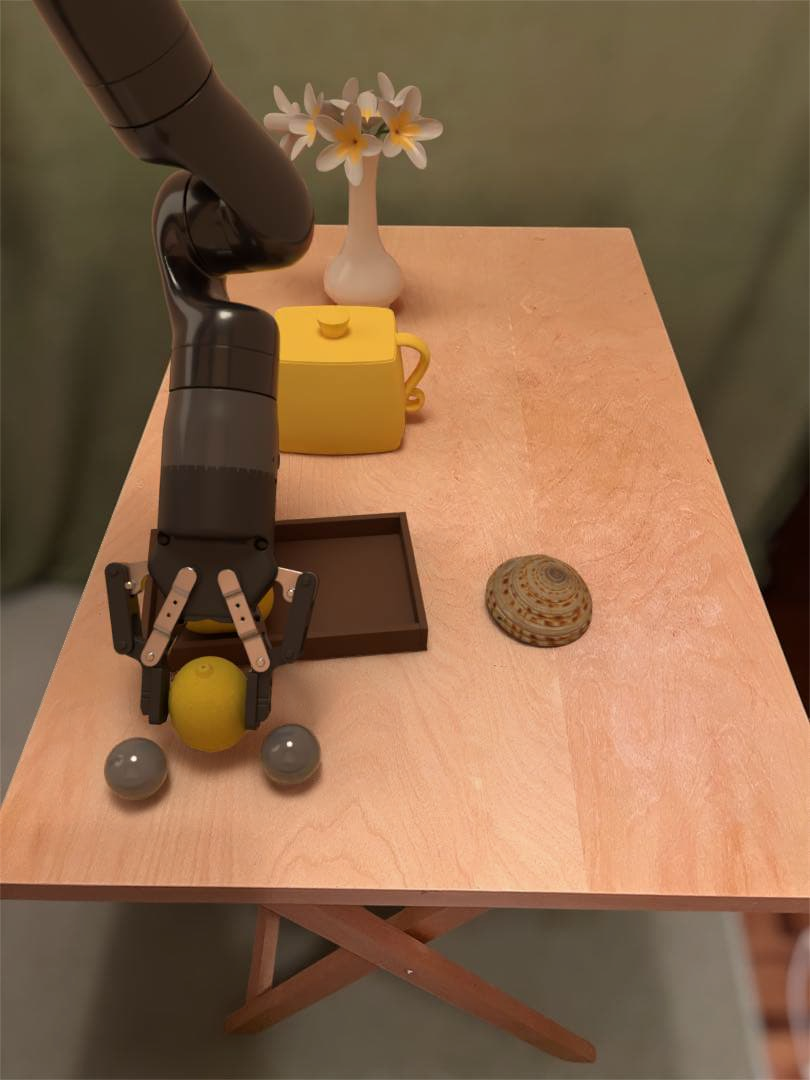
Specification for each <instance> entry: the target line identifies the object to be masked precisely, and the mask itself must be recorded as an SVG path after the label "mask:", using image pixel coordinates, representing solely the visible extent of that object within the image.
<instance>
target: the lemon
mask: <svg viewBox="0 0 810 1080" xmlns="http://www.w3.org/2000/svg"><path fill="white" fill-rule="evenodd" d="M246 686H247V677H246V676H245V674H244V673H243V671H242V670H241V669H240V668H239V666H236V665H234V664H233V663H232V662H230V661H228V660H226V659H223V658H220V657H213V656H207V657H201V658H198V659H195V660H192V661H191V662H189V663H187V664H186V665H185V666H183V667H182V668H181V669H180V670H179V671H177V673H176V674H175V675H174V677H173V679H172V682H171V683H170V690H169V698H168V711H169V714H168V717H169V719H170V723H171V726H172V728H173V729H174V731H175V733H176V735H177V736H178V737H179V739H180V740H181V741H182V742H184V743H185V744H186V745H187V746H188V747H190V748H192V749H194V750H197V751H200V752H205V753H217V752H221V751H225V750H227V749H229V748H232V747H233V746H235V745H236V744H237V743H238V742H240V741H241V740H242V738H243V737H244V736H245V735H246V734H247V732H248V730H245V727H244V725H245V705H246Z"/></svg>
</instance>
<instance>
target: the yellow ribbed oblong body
mask: <svg viewBox="0 0 810 1080" xmlns="http://www.w3.org/2000/svg"><path fill="white" fill-rule="evenodd" d="M273 601H274V593H273V587H272V588H271V589H270V590H269V591H268V593H267V594H266V595H265V596H264V598H263V599H262V600H261V601H260V603H259V604H258V606H259V609H260V612H261V615H262V617H263V620H265V619H266V618H267V616H268V615H269V613H270V611H271V609H272V606H273ZM186 628H187V629H189V630H191V631H193V632H196V633H201V634H215V633H228V632H237V629H236V627H235V624H234V623H219V622H216V621H213V620H210V619H206V620H201V621H196V622H193V621H188V623H187V625H186Z"/></svg>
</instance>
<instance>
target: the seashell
mask: <svg viewBox="0 0 810 1080" xmlns="http://www.w3.org/2000/svg"><path fill="white" fill-rule="evenodd" d="M485 598H486V603H487V605H488V606H487V607H488V608H489V611H490V613H491V614H492V616H493V618H494V619H495V620H496V622H497V623H498V624H499V625H500V626H501V627H502V628H503V629H504V630H505V631H506V632H508V634H511V635H512V636H514V637H516V638H517V639H519V640H520V641H523V642H525V643H527V644H531V645H535V646H539V647H559V646H562V645H566V644H569V643H571V642H573V641H576V640H577V639H578V638H580V637H581V636H582V635H583V634H584V633H585V632H586V630H587V629H588V627H589V626H590V623H591V621H592V615H593V599H592V594H591V592H590V589H589V587H588V584H587V582H586V581H585V580H584V578H583V577H582V575H581V574H580V573H579V572H578V571H577V570H576V569H575V568H574V567H573V566H571V565H570V564H569V563H568V562H565V561H563V560H561V559H558V558H555V557H553V556H550V555H547V554H540V553H539V554H529V555H523V556H517V557H511V558H509V559H507V560H505V561H504V562H502V563H501V564H499V565H498V566H496V568H495V569H494V570H493V572H492V573H491V574H490V576H489V577H488V580H487V582H486V587H485Z"/></svg>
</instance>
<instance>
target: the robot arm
mask: <svg viewBox="0 0 810 1080" xmlns="http://www.w3.org/2000/svg"><path fill="white" fill-rule="evenodd" d="M30 2H31V3H32V5H33V7H34V9H35V10H36V12H37V13H38V15H39V17H40V18H41V20H42V22H43V23H44V25H45V27H46V28H47V30H48V32H49V33H50V35H51V37H52V38H53V40H54V42H55V43H56V45H57V47H58V48H59V50H60V51H61V53H62V55H63V57H65V59H66V61H67V62H68V64H69V66H70V67H71V69H72V70H73V72H74V74H75V76H77V78H78V79H79V81H80V83H81V84H82V86H83V87H84V89H85V90H86V93H88V95H89V96H90V98H91V99H92V101H93V103H94V104H95V105H96V107H97V109H98V110H99V112H100V114H101V115H102V117H103V118H104V120H105V121H106V123H108V126H109V127H110V129H111V130H112V132H113V133H114V135H115V136H116V138H117V139H118V140H119V142H120V143H121V144H122V146H123V147H124V148H125V149H126V151H127V152H128V153H129V154H130V155H132V156H133V157H134V158H136V159H138V160H140V161H141V162H143V163H146V164H151V165H156V166H164V167H171V168H176V169H180V170H177V171H175V172H173V173H172V174H170V175H169V176H168V177H167V178H166V179H165V181H163V183H162V185H161V186H160V188H159V190H158V191H157V194H156V196H155V199H154V203H153V207H152V212H151V213H152V214H151V234H152V240H153V245H154V249H155V255H156V258H157V259H156V260H157V263H158V269H159V272H160V277H161V282H162V288H163V293H164V298H165V303H166V307H167V312H168V317H169V321H170V327H171V334H172V337H171V338H172V339H171V351H170V352H171V353H170V367H169V381H168V385H169V386H168V392H169V393H168V398H167V405H166V410H165V415H164V420H163V426H162V439H161V455H160V471H159V472H160V473H159V491H158V507H157V522H156V523H157V525H156V526H157V527H156V529H157V542H156V546H155V549H154V551H153V552H152V554H151V555H150V557H149V559H148V558H147V560H148V561H147V560H143V561H135V562H121V561H119V562H118V561H117V562H115V561H113V562H109V563H108V564H107V565H106V566H105V568H104V580H105V581H104V582H105V588H106V596H107V597H106V598H107V604H108V613H109V621H110V630H111V638H112V645H113V650H114V652H115V653H117V654H118V655H121V656H126V657H129V658H131V659H134V660H136V661H137V662H138V663H139V665H140V666H141V683H140V703H139V708H140V711H141V715H142V716H148V719H147V720H148V721H147V722H148V724H149V726H162V725H164V724H166V723H167V722H168V720H169V711H168V698H169V690H170V687H171V678H172V676H171V675H172V672H171V665H167V659H168V658H169V656H170V654H171V652H172V650H173V648H174V646H175V644H176V642H177V640H178V638H179V636H180V634H181V633H182V632H183V631H184V629H185V627H186V625H187V623H188V621H193V622H196V621H201V620H206V619H210V620H213V621H216V622H219V623H234V624H235V627H236V629H237V632H238V635H239V637H240V639H241V640H242V642H243V644H244V646H245V649H246V652H247V654H248V657H249V660H250V663H251V665H250V666H251V667H250V668H251V669H250V671H248V672H247V673H246V680H247V686H246V705H245V725H244V727H245V730H247V731H253V732H257V730H259V728H260V727H261V723H264V722H266V721H267V720H268V718H269V717H270V714H271V712H272V701H273V686H274V685H273V683H274V672H275V670H276V669H277V668H278V667H282V666H286V665H289V664H290V665H291V664H293V663H295V662H297V661H296V660H298V659H299V658H300V657H301V656H302V654H303V650H304V646H305V642H306V638H307V633H308V629H309V625H310V621H311V616H312V612H313V608H314V604H315V599H316V595H317V591H318V587H319V582H320V580H319V577H318V575H317V574H315V573H313V572H300V571H295V570H291V569H287V568H283V567H280V564H279V562H278V560H277V558H276V555H275V552H274V532H275V521H276V512H277V510H276V509H277V494H278V493H277V491H278V476H279V475H278V474H279V469H280V467H281V466H280V465H281V454H280V451H279V424H278V411H277V408H278V403H277V398H278V379H279V361H280V331H279V326H278V324H277V322H276V320H275V319H274V317H273V315H272V314H271V313H269V312H268V311H266V310H264V309H262V308H259V307H258V306H254V305H250V304H247V303H243V302H238V301H233V300H230V296H229V292H228V287H227V281H228V276H236V275H245V274H254V273H264V272H265V273H267V272H273V271H280V270H285V269H287V268H291V267H292V266H295V265H297V264H298V263H299V262H301V261H302V259H303V258H304V257H305V256H306V255H307V254H308V252H309V250H310V248H311V246H312V243H313V241H314V240H313V239H314V235H315V227H316V216H315V208H314V203H313V199H312V196H311V193H310V191H309V188H308V185H307V183H306V181H305V179H304V177H303V175H302V174H301V172H300V171H299V169H298V167H297V166H296V164H295V163H294V162H293V161H292V160H291V157H290V156H289V157H288V155H287V154H286V153H285V152H284V150H283V149H282V148H281V147H280V146H279V145H280V144H279V143H278V142H277V141H276V140H275V139H274V138H273V137H272V136H271V135H270V132H269V131H268V130H267V129H266V128H265V127H264V126H263V125H262V124H261V123H260V122H259V121H258V120H257V119H256V118H255V116H254V115H253V114H252V113H251V112H250V111H249V109H248V108H247V107H246V106H245V104H243V103H242V102H241V101H240V99H239V98H238V97H237V96H236V95H235V94H234V93H233V92H232V91H231V90H230V89H229V87H227V85H225V83H224V82H223V81H222V79H221V78H220V76H219V74H218V72H217V70H216V67H215V66H214V64H213V62H212V60H211V58H210V56H209V53H208V52H207V50H206V48H205V46H204V45H203V43H202V41H201V40H202V39H200V37H199V34H198V33H197V31H196V29H195V27H194V25H193V23H192V22H191V19H190V17H189V16H188V13H187V12H186V10H185V8H184V7H183V4H182V2H181V1H180V0H30ZM149 576H151V578H152V579H153V581H154V582H155V584H156V585H157V587H158V588H159V590H160V592H161V593H162V595H163V596H164V598H165V599H166V601H165V603H164V605H163V607H162V609H161V611H160V613H159V615H158V617H157V619H156V621H155V623H154V626H153V631H152V633H151V635H150V637H149V639H148V640H147V639H145V638H143V634H142V625H141V610H140V602H139V595H140V594H142V592H144V588H145V581H146V579H147V578H148V577H149ZM276 581H278V582H279V583H280V584H281V585H282V587H283V597H284V599H285V600H286V601H288V602H291V607H290V611H289V615H288V620H287V624H286V628H285V632H284V636H283V641H282V645H281V646H277V647H274V648H272V645H271V643H270V640H269V637H268V635H267V630H266V625H265V623H264V620H263V617H262V615H261V612H260V609H259V606H258V604H259V603H260V601H261V600H262V599H263V598H264V596H265V595H266V594H267V593H268V591H269V590H270V589H271V588H272V586H273V585H274V584H275V583H276Z"/></svg>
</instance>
